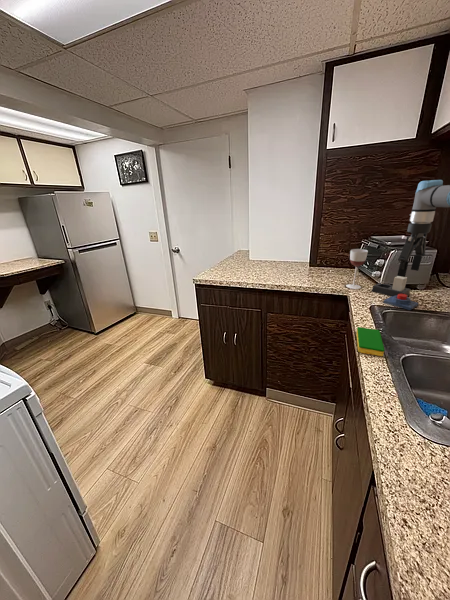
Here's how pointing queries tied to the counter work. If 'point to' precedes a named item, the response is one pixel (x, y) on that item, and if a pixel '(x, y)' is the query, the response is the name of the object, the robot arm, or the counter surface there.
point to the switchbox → (401, 302)
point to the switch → (402, 296)
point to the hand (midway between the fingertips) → (408, 273)
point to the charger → (399, 283)
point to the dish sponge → (369, 341)
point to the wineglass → (357, 263)
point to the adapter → (388, 290)
